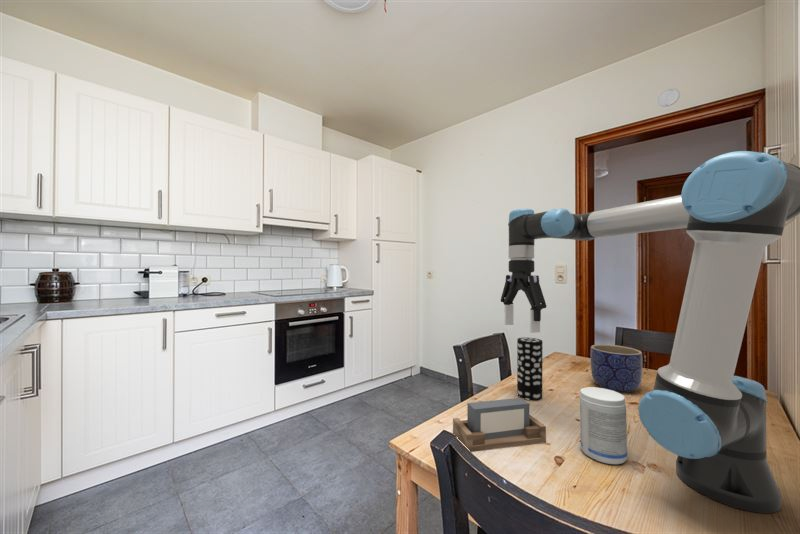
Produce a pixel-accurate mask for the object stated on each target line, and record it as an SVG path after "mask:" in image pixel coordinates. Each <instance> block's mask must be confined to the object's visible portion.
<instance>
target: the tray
mask: <svg viewBox="0 0 800 534" xmlns="http://www.w3.org/2000/svg"><path fill="white" fill-rule="evenodd" d="M453 434H455V435H456V436H457V437H458V439H459V440H460V441H461V442H462V443H463V444H464V445H465V446H466V447H467V448H468V449H469V450H470V451H471V452H480V451H488V450H496V449H497V450H498V449H504V448H505V449H506V448H513V447H521V446H527V445H528V446H529V445H536V444H537V445H539V444H546V443H547V426H546V424H544V423H542V422H541V421H539V420H538V419H537V418H535V417H534V416H532V415H531V414H530V426H528V427H524V435H517V436H510V437H503V438H495V439H488V440H485V434H484V433H483V432H473V433H471V432H470V431H469V430H468V428H467V419H465V420H464V419H463V420H461V419H460V418H459V417H453V418H452V435H453ZM471 452H470V453H471Z"/></svg>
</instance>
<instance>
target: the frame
mask: <svg viewBox="0 0 800 534" xmlns="http://www.w3.org/2000/svg"><path fill="white" fill-rule="evenodd" d="M530 406H531V405H530V402H528V401H526V400H525V399H522V398H520V397H513V398H505V399H496V400H495V399H494V400H493V399H492V400H487V401H486V400H485V401H475V402H467V407H466V408H467V411H466V412H467V413H466V415H467V417H466V418H467V419H466V420H467V428H468V430H469V431H470V432H471V433H473V432H483V433H484V434H485V440H488V439H495V438H503V437H510V436H517V435H524V427H528V426H530V415H531V413H530V410H531V409H530V408H531V407H530Z"/></svg>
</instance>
